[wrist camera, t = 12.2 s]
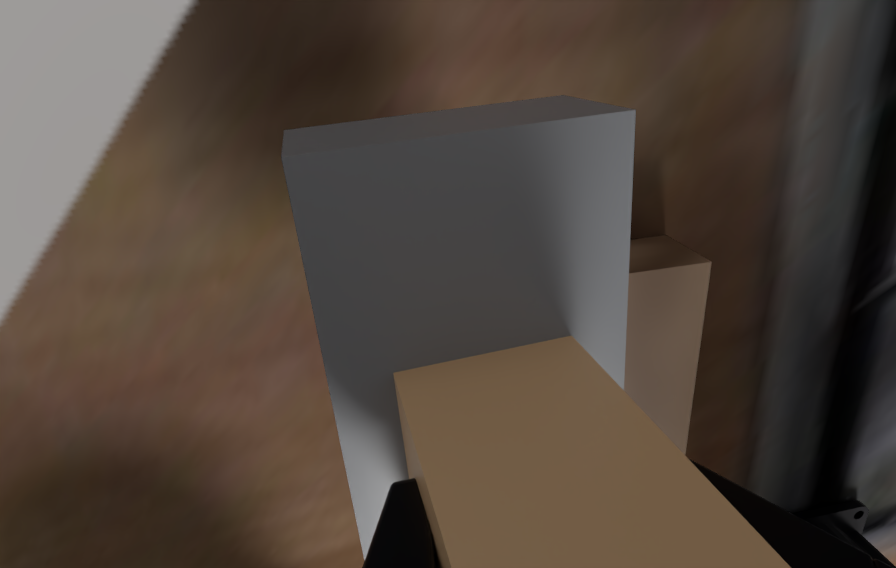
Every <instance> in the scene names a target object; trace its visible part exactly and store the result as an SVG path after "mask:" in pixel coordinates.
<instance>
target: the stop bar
mask: <svg viewBox="0 0 896 568" xmlns="http://www.w3.org/2000/svg"><path fill="white" fill-rule="evenodd" d="M711 264H712V262H711V261H710V260H708V259H706V258H704V257H703V256H701V255H699V254H698V253H696V252H694V251H693V250H691V249H689V248H687V247H686V246H684V245H682V244H681V243H679V242H677V241H675V240H674V239H672V238H670V237H669V236H667V235H663V236H656V237H648V238H641V239H633V240H630V258H629V282H628V306H627V329H626V353H625V376H624V391H625V392H626V394H627V395H628V396H629V397H630V398H631V399H632V400H633V401H634V402H635V403H636V404H637V405H638V406H639V407H640V408H641V409H642V410H643V411H644V413H645V414H646V415H647V416H648V417H649V418H650V419H651V420H652V421H653V422H654V423H655V424H656V425H657V426H658V427H659V428H660V429H661V431H662V432H663V433H664V434H665V435H666V436H667V437H668V438H669V439H670V440H671V441H672V442H673V443H674V444H675V445H676V446H677V447H678V449H679V450H680V451H681V452H682V453H683V454H684V455H685V454H686V446H687V439H688V432H689V425H690V417H691V410H692V403H693V395H694V388H695V381H696V373H697V366H698V359H699V352H700V344H701V337H702V330H703V322H704V315H705V308H706V300H707V293H708V286H709V278H710V271H711Z"/></svg>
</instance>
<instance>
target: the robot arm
mask: <svg viewBox="0 0 896 568" xmlns="http://www.w3.org/2000/svg"><path fill="white" fill-rule="evenodd" d="M689 460H690V459H689ZM690 461H691V462H692V463H693V464H694V465H695V466H696V468H697V469H698V470H699V471H700V472H701V473H702V474H703V475H704V476H705V477H706V478H707V479H708V480H709V481H710V482H711V483H712V484H713V486H714V487H715V488H716V489H717V490H718V491H719V492H720V493H721V494H722V495H723V496H724V497H725V498H726V499H727V500H728V501H729V502H730V504H731V505H732V506H733V507H734V508H735V509H736V510H737V511H738V512H739V513H740V514H741V515H742V516H743V517H744V518H745V519H746V520H747V521H748V523H749V524H750V525H751V526H752V527H753V528H754V529H755V530H756V531H757V532H758V533H759V534H760V535H761V536H762V537H763V538H764V539H765V541H766V542H767V543H768V544H769V545H770V546H771V547H772V548H773V549H774V550H775V551H776V552H777V553H778V554H779V555H780V556H781V557H782V559H783V560H784V561H785V562H786V563H787V564H788V565H789V566H790V567H791V568H896V567H895V566H894V565H893V564H892V563H891V562H890V561H889V560H888V559H887V558H886V557H885V556H883V555H882V554H881V553H880V552H879V551H878V550H877V549H876V548H875V547H874V546H873V545H872V544H871V543H870V542H868V541H867V540H866V539H865V538H864V537H863V536H862V535H861V534H862V531H863V528H864V525H865V522H866V519H867V515H868V511H869V510H868V508H867V507H866V506H865V505H864V504H863V503H861V502H860V501H858V500H854V501H849V502H845V503H840V504H836V505H831V506H827V507H822V508H818V509H813V510H809V511H804V512H800V513H795V514H792V513H790V512H788V511H786V510H784V509H782V508H780V507H778V506H777V505H775V504H773V503H771V502H769V501H767V500H765V499H763V498H762V497H760V496H758V495H756V494H754V493H752V492H750V491H748V490H747V489H745V488H743V487H741V486H739V485H737V484H735V483H733V482H732V481H730V480H728V479H726V478H724V477H722V476H720V475H718V474H717V473H715V472H713V471H711V470H709V469H707V468H705V467H703V466H702V465H700V464H698V463H696V462H694V461H692V460H690ZM362 568H436V561H435V553H434V546H433V539H432V534H431V529H430V525H429V521H428V518H427V514H426V511H425V508H424V504H423V501H422V498H421V495H420V491H419V488H418V485H417V482H416V479H415V478H411V479H406V480H401V481H397V482H394V483H393V484H392V485H391V486H390V489H389V492H388V494H387V497H386V500H385V503H384V506H383V509H382V512H381V515H380V518H379V521H378V524H377V526H376V529H375V532H374V535H373V538H372V541H371V544H370V547H369V550H368V553H367V555H366V558H365V561H364V564H363V567H362Z"/></svg>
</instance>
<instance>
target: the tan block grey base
mask: <svg viewBox="0 0 896 568" xmlns="http://www.w3.org/2000/svg"><path fill="white" fill-rule="evenodd" d="M635 117H636V110H635V109H630V108H625V107H620V106H615V105H610V104H605V103H600V102H595V101H590V100H585V99H580V98H575V97H570V96H565V95H561V96H553V97H545V98H537V99H529V100H521V101H513V102H505V103H497V104H489V105H481V106H473V107H465V108H457V109H449V110H441V111H433V112H425V113H417V114H409V115H401V116H393V117H385V118H377V119H369V120H361V121H353V122H345V123H337V124H329V125H321V126H313V127H305V128H297V129H289V130H284V135H283V145H282V154H281V159H282V163H283V168H284V173H285V178H286V183H287V188H288V192H289V197H290V202H291V207H292V212H293V217H294V221H295V226H296V231H297V236H298V241H299V246H300V251H301V255H302V260H303V265H304V270H305V275H306V280H307V284H308V289H309V294H310V299H311V304H312V309H313V313H314V318H315V323H316V328H317V333H318V338H319V342H320V347H321V352H322V357H323V362H324V367H325V371H326V376H327V381H328V386H329V391H330V396H331V400H332V405H333V410H334V415H335V420H336V425H337V429H338V434H339V439H340V444H341V449H342V454H343V459H344V463H345V468H346V473H347V478H348V483H349V488H350V492H351V497H352V502H353V507H354V512H355V517H356V521H357V526H358V531H359V536H360V541H361V546H362V550H363V555H364V560H365V558H366V555H367V553H368V550H369V547H370V544H371V541H372V538H373V535H374V532H375V529H376V526H377V524H378V521H379V518H380V515H381V512H382V509H383V506H384V503H385V500H386V497H387V494H388V492H389V489H390V486H391V485H392V484H393V483H394V482H397V481H401V480H406V479H411V478H415V479H416V482H417V485H418V488H419V491H420V495H421V498H422V501H423V504H424V508H425V511H426V514H427V518H428V521H429V525H430V529H431V534H432V539H433V546H434V553H435V561H436V568H791V567H790V566H789V565H788V564H787V563H786V562H785V561H784V560H783V559H782V557H781V556H780V555H779V554H778V553H777V552H776V551H775V550H774V549H773V548H772V547H771V546H770V545H769V544H768V543H767V542H766V541H765V539H764V538H763V537H762V536H761V535H760V534H759V533H758V532H757V531H756V530H755V529H754V528H753V527H752V526H751V525H750V524H749V523H748V521H747V520H746V519H745V518H744V517H743V516H742V515H741V514H740V513H739V512H738V511H737V510H736V509H735V508H734V507H733V506H732V505H731V504H730V502H729V501H728V500H727V499H726V498H725V497H724V496H723V495H722V494H721V493H720V492H719V491H718V490H717V489H716V488H715V487H714V486H713V484H712V483H711V482H710V481H709V480H708V479H707V478H706V477H705V476H704V475H703V474H702V473H701V472H700V471H699V470H698V469H697V468H696V466H695V465H694V464H693V463H692V462H691V461H690V460H689V459H688V458H687V457H686V456H685V455H684V454H683V453H682V452H681V451H680V450H679V449H678V447H677V446H676V445H675V444H674V443H673V442H672V441H671V440H670V439H669V438H668V437H667V436H666V435H665V434H664V433H663V432H662V431H661V429H660V428H659V427H658V426H657V425H656V424H655V423H654V422H653V421H652V420H651V419H650V418H649V417H648V416H647V415H646V414H645V413H644V411H643V410H642V409H641V408H640V407H639V406H638V405H637V404H636V403H635V402H634V401H633V400H632V399H631V398H630V397H629V396H628V395H627V394H626V392H625V391H624V376H625V353H626V329H627V306H628V282H629V258H630V235H631V211H632V188H633V164H634V141H635Z"/></svg>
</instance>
